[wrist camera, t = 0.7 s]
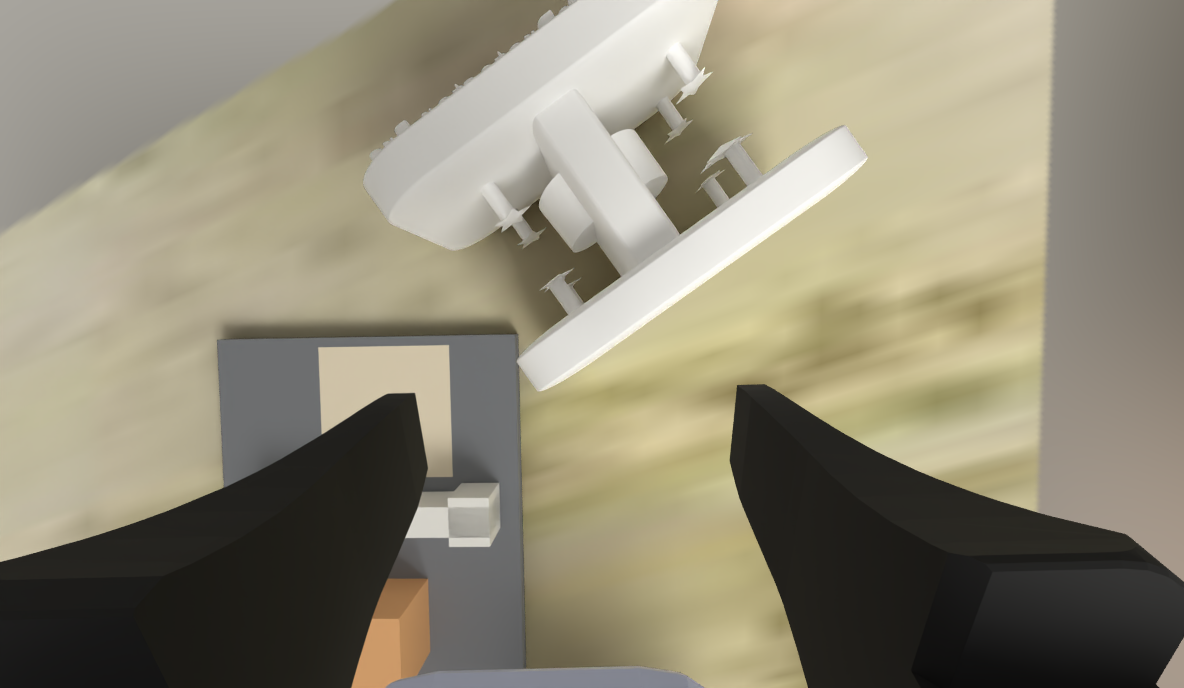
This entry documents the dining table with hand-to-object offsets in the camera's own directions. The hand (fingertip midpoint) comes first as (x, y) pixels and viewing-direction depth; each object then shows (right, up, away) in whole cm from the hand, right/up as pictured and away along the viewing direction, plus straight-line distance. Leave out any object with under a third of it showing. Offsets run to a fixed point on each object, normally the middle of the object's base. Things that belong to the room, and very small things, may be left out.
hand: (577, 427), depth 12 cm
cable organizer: (+1, +9, +17) cm, 19 cm away
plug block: (-10, -13, +17) cm, 24 cm away
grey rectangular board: (-11, -9, +18) cm, 23 cm away
